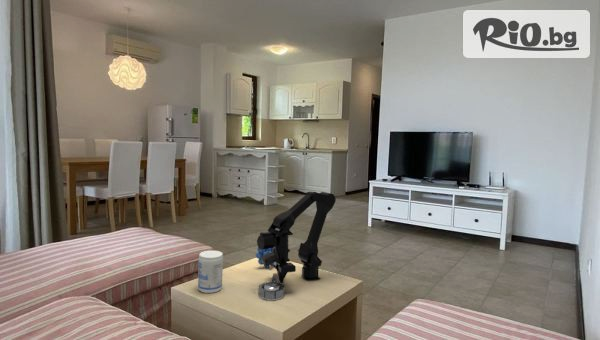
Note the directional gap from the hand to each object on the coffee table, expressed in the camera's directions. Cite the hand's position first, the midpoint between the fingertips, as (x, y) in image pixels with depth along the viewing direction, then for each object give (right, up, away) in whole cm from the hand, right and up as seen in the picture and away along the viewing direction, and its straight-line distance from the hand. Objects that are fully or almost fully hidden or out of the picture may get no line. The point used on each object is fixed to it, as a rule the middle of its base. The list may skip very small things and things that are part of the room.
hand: (281, 282), depth 157 cm
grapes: (-7, 0, +21) cm, 22 cm away
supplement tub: (-28, -1, -5) cm, 29 cm away
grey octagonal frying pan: (-3, -1, -6) cm, 6 cm away
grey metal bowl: (-3, -2, -10) cm, 10 cm away
